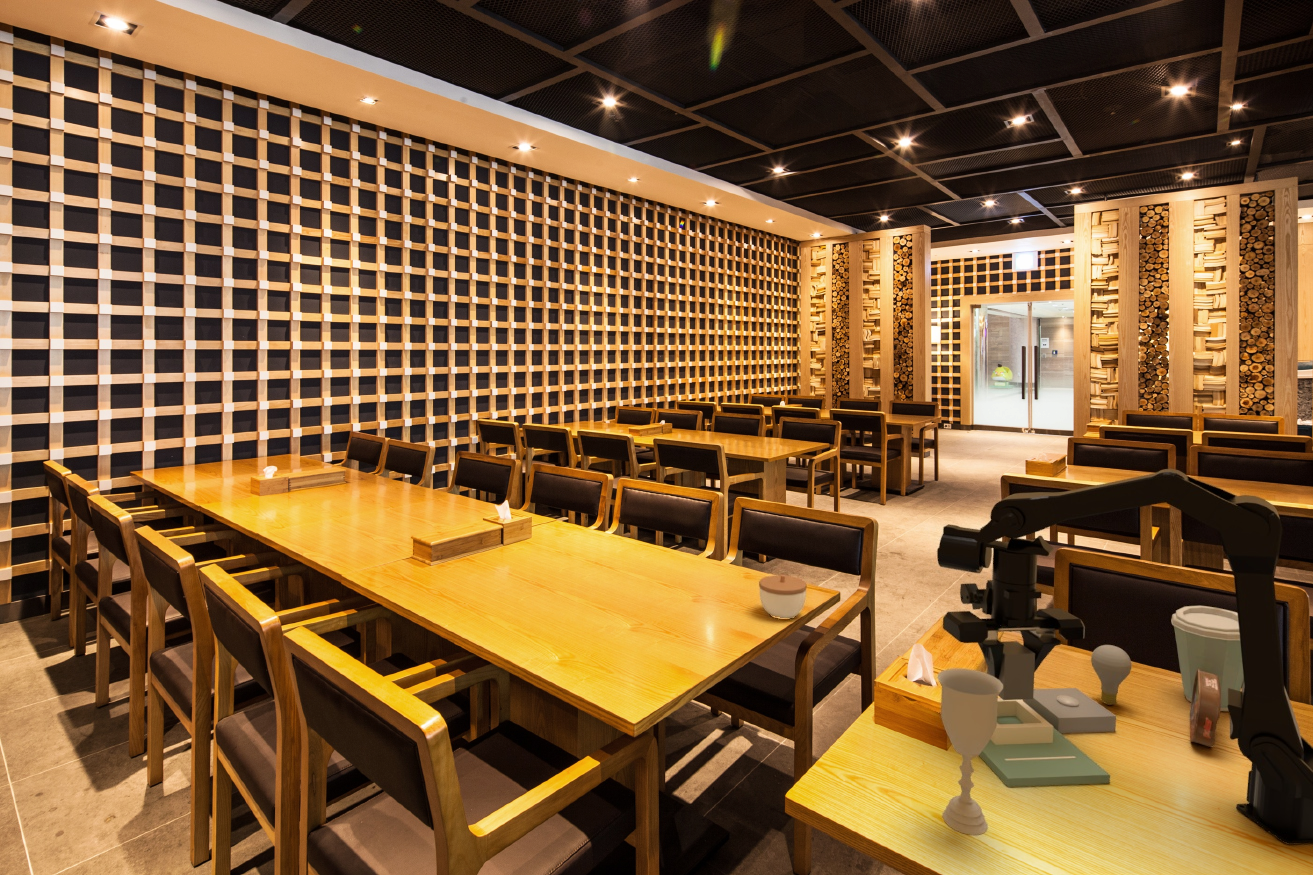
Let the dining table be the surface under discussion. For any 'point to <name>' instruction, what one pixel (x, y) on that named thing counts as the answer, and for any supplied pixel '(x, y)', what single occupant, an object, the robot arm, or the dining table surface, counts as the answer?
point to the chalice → (968, 736)
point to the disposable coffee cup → (1209, 647)
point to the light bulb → (1110, 670)
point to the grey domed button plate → (1071, 711)
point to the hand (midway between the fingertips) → (1010, 679)
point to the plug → (1016, 672)
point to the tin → (1205, 708)
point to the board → (1035, 751)
